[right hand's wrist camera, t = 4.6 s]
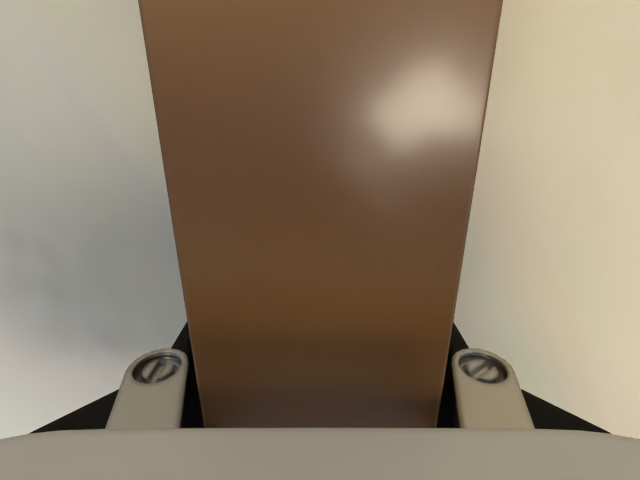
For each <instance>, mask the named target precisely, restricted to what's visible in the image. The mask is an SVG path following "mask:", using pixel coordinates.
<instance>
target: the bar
mask: <svg viewBox="0 0 640 480" xmlns="http://www.w3.org/2000/svg"><path fill="white" fill-rule="evenodd" d="M138 2H139V8H140V15H141V21H142V28H143V34H144V41H145V47H146V54H147V60H148V67H149V73H150V80H151V87H152V93H153V100H154V106H155V113H156V119H157V126H158V132H159V139H160V145H161V152H162V158H163V165H164V171H165V178H166V184H167V191H168V197H169V204H170V210H171V217H172V223H173V230H174V236H175V243H176V249H177V256H178V262H179V269H180V275H181V282H182V288H183V295H184V301H185V308H186V314H187V321H188V327H189V334H190V340H191V347H192V353H193V360H194V366H195V373H196V379H197V386H198V392H199V399H200V405H201V412H202V418H203V425H204V428H437V422H438V416H439V409H440V403H441V396H442V390H443V383H444V377H445V371H446V364H447V358H448V351H449V345H450V338H451V332H452V325H453V319H454V312H455V306H456V300H457V293H458V287H459V280H460V274H461V267H462V261H463V254H464V248H465V241H466V235H467V229H468V222H469V216H470V209H471V203H472V196H473V190H474V183H475V177H476V170H477V164H478V158H479V151H480V145H481V138H482V132H483V125H484V119H485V112H486V106H487V99H488V93H489V87H490V80H491V74H492V67H493V61H494V54H495V48H496V41H497V35H498V29H499V22H500V16H501V9H502V3H503V0H138Z"/></svg>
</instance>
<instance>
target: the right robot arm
mask: <svg viewBox="0 0 640 480" xmlns="http://www.w3.org/2000/svg"><path fill="white" fill-rule="evenodd" d="M0 480H640V439H635V438H630V437H625V436H619V435H614V434H611V433H609V432H607V431H605V430H603V429H601V428H599V427H597V426H595V425H593V424H591V423H589V422H587V421H585V420H583V419H581V418H579V417H577V416H575V415H573V414H571V413H569V412H567V411H565V410H563V409H561V408H558V407H556V406H554V405H552V404H550V403H548V402H546V401H544V400H542V399H540V398H538V397H536V396H534V395H532V394H530V393H528V392H526V391H524V390H522V389H520V386H519V383H518V380H517V377H516V375H515V372H514V370H513V369H512V367H511V365H510V364H509V363H507V362H506V361H505V360H504V359H503V358H501V357H499V356H498V355H496V354H493V353H491V352H489V351H485V350H481V349H472V348H469V347H468V346H467V344H466V342H465V341H464V339H463V337H462V336H461V334H460V332H459V331H458V329H457V327H456V326H455V324H454V322H453V325H452V332H451V338H450V345H449V351H448V358H447V364H446V371H445V377H444V383H443V390H442V396H441V403H440V409H439V416H438V422H437V428H204V425H203V418H202V412H201V405H200V399H199V392H198V386H197V379H196V373H195V366H194V360H193V353H192V347H191V340H190V334H189V327H188V321H187V323H186V324H185V326H184V328H183V329H182V331H181V333H180V334H179V336H178V338H177V339H176V341H175V343H174V344H173V346H172V348H168V349H159V350H155V351H151V352H149V353H147V354H144V355H142V356H141V357H139V358H137V359H136V360H135V361H134V362H133V363H131V364H130V365H129V367H128V369H127V370H126V372H125V375H124V377H123V380H122V383H121V386H120V389H118V390H116V391H114V392H112V393H110V394H108V395H106V396H104V397H102V398H100V399H98V400H96V401H94V402H92V403H90V404H88V405H86V406H84V407H82V408H80V409H78V410H76V411H74V412H72V413H70V414H67V415H65V416H63V417H61V418H59V419H57V420H55V421H53V422H51V423H49V424H47V425H45V426H43V427H41V428H39V429H37V430H35V431H33V432H31V433H29V434H26V435H21V436H15V437H10V438H5V439H0Z"/></svg>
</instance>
